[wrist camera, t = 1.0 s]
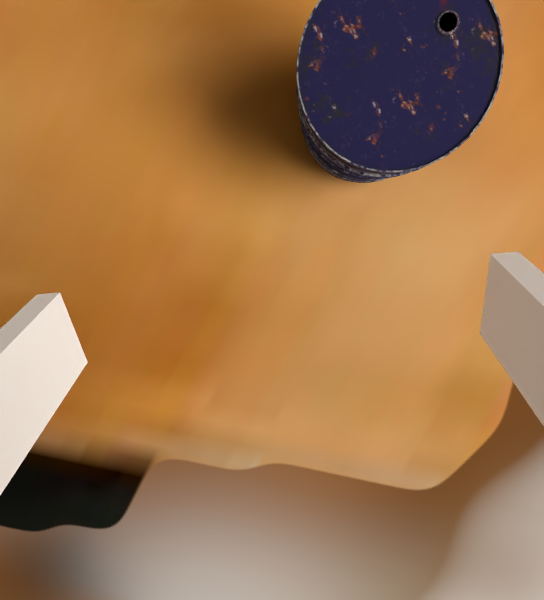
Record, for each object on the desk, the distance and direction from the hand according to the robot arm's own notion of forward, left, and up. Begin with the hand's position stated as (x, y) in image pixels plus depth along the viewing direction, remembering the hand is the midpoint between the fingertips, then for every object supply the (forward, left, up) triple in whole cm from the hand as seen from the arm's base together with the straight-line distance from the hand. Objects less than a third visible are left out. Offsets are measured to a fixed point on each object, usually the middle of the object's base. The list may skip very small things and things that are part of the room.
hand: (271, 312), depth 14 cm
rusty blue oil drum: (+1, +11, -25) cm, 27 cm away
